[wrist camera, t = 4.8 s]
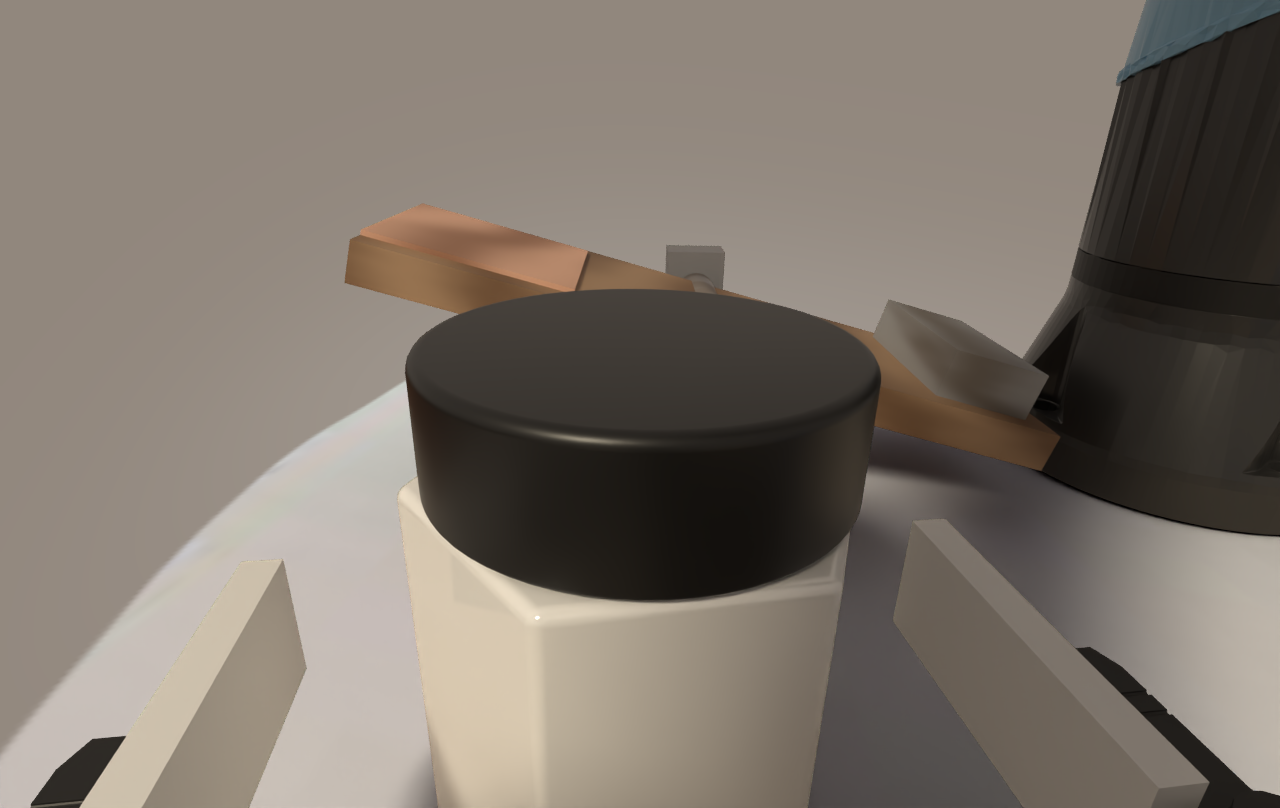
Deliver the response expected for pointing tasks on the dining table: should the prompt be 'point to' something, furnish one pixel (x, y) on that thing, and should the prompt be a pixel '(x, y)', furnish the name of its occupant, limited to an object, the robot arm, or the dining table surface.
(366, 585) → the dining table surface
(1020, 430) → the beam
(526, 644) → the jar
